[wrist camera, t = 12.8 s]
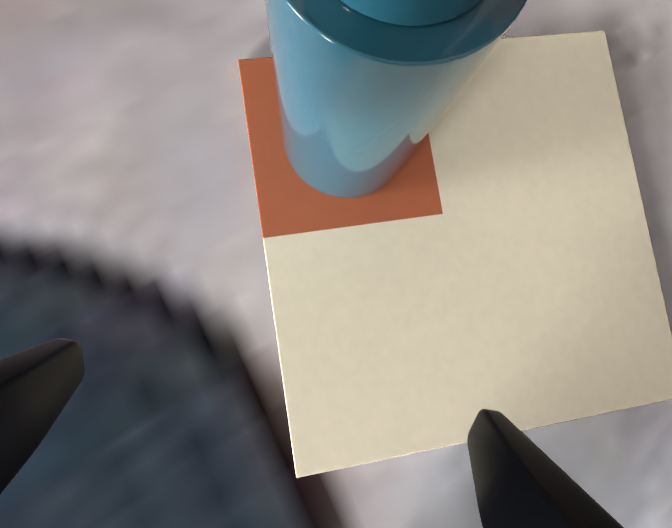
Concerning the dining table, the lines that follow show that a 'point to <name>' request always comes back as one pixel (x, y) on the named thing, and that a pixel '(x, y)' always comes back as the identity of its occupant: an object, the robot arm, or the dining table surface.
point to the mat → (466, 266)
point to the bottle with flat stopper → (372, 79)
